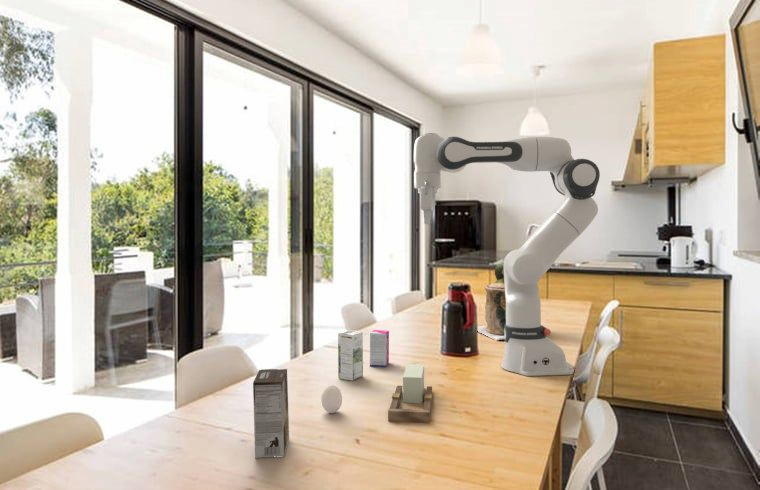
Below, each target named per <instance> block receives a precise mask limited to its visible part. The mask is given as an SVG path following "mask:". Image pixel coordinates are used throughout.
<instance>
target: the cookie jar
mask: <svg viewBox="0 0 760 490" xmlns="http://www.w3.org/2000/svg"><path fill="white" fill-rule="evenodd" d="M494 276H495V281H494V282H493V283H491V284H488V285H487V284H486V285H485V286H484V290H485V292H486V296H485V297H486V298H485V300H486V301H485V305H484V308H485V309H484V311H485V312H484V314H485V315H484V320H485V322H486V325H479V326H478V325H477V326H478V333H479V334H480V333H482V334H481V335H483V334H484V335H483V336H485V335H486V336H485V337H487V336H488V338H490V339H491V338H492V340H494V339H496V340H498V341H500V340H501V341H502V340H505V339H504V328H505V324H506V298H505V285H504V262H503V263H500V264H497V265H496V266H495V268H494ZM496 340H495V341H496Z"/></svg>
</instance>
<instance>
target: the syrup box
mask: <svg viewBox="0 0 760 490" xmlns="http://www.w3.org/2000/svg"><path fill="white" fill-rule="evenodd" d="M363 334H364V333H363V332H362V331H361V330H360V331H359V330H356V329H355V330H354V329H347V330H344V331H341V332H338V334H337V338H338V339H337V350H338V351H337V352H338V353H337V355H338V357H337V360H338V361H337V362H338V364H337V365H338V367H337V370H338V371H337V373H338V379H341V380H347V381H352V382H353V381H355V380H357V379H359V378H361V377H363V375H364V374H363V373H364V370H363V369H364V360H363V359H364V355H363V354H364V345H363V344H364V341H363V338H364V336H363Z"/></svg>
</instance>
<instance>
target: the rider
mask: <svg viewBox="0 0 760 490" xmlns="http://www.w3.org/2000/svg"><path fill="white" fill-rule="evenodd" d="M424 391H425V364H406V366H405V369H404V371H403V376H402V399H403V403H409V404H411V403H414V404H422V403H423V398H424Z"/></svg>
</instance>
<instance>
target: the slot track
mask: <svg viewBox="0 0 760 490" xmlns="http://www.w3.org/2000/svg"><path fill="white" fill-rule="evenodd" d="M391 395H392V396H391V399H392V400H391V403H390V406H389V408H388V409H387V421H388V422H400V421H405V422H404V423H425V422H426V423H428V424H429V423H430V420H431V419H430V418H431V411H432V409H431V408H432V400H433V386H429V385H428V386H426V391H425V394H424V396H423V398H424V405H423V409H410V408H409V409H408V408H405V409H404V408H399V407H400V406H399V405H400V402H401V398H402V397H403V385H396V388H395V389H394V393H392V394H391Z"/></svg>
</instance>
